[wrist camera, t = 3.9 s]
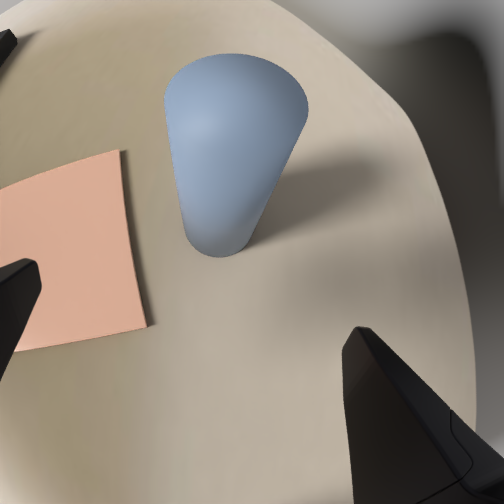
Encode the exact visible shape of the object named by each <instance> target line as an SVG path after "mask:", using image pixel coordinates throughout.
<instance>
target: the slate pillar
mask: <svg viewBox="0 0 504 504" xmlns="http://www.w3.org/2000/svg"><path fill="white" fill-rule="evenodd" d="M164 105H165V113H166V121H167V128H168V135H169V142H170V149H171V155H172V161H173V168H174V174H175V180H176V186H177V191H178V197H179V203H180V208H181V214H182V219H183V224H184V229H185V233H186V236H187V238H188V240H189V242H190V243H191V245H192V246H193V247H194V248H195V249H196V250H198V251H199V252H201V253H203V254H205V255H208V256H211V257H227V256H230V255H233V254H235V253H237V252H239V251H240V250H241V249H243V248H244V247H245V246H246V244H247V243H248V242H249V240H250V238H251V236H252V234H253V232H254V229H255V227H256V225H257V223H258V221H259V219H260V217H261V215H262V213H263V211H264V208H265V206H266V204H267V202H268V200H269V198H270V196H271V194H272V192H273V190H274V188H275V185H276V183H277V181H278V179H279V177H280V175H281V173H282V171H283V169H284V167H285V165H286V163H287V160H288V158H289V156H290V154H291V152H292V150H293V148H294V146H295V144H296V142H297V140H298V138H299V136H300V134H301V131H302V129H303V127H304V125H305V123H306V120H307V117H308V101H307V97H306V95H305V93H304V90H303V89H302V87H301V86H300V84H299V83H298V82H297V80H296V79H295V78H294V77H293V76H292V75H291V74H289V73H288V72H287V71H286V70H284V69H283V68H281V67H279V66H278V65H276V64H274V63H272V62H270V61H267V60H265V59H262V58H258V57H255V56H250V55H244V54H218V55H212V56H208V57H204V58H201V59H198V60H196V61H194V62H192V63H190V64H188V65H187V66H185V67H184V68H182V69H181V70H180V71H179V72H178V73H177V74H176V75H175V76H174V77H173V78H172V80H171V81H170V83H169V84H168V86H167V89H166V92H165V98H164Z"/></svg>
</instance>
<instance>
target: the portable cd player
mask: <svg viewBox="0 0 504 504" xmlns="http://www.w3.org/2000/svg"><path fill="white" fill-rule="evenodd" d="M16 45H17V38H16V37H15V35H14V34H13V33H12V32H11V30H10V29H7V30H5V31H2V32H0V67H1V65H2V64H3V63H4V61H5V60H6V58H7V57H8V56H9V54H10V53H11V52H12V50H13V49H14V48H15V46H16Z"/></svg>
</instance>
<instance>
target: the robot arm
mask: <svg viewBox="0 0 504 504" xmlns="http://www.w3.org/2000/svg"><path fill="white" fill-rule="evenodd" d="M41 290H42V282H41V277H40V272H39V267H38V264H37V262H36V261H35V260H32V259H29V258H23V259H20V260H18V261H15V262H13V263H10V264H8V265H5V266H3V267H0V381H1V379H2V376H3V374H4V372H5V369H6V367H7V365H8V363H9V361H10V359H11V357H12V354H13V352H14V350H15V348H16V346H17V344H18V342H19V340H20V338H21V336H22V334H23V332H24V330H25V327H26V325H27V322H28V320H29V318H30V315H31V313H32V311H33V308H34V306H35V304H36V302H37V299H38V297H39V295H40V293H41ZM342 373H343V401H344V410H345V418H346V426H347V434H348V443H349V453H350V463H351V474H352V485H353V499H354V504H504V458H503V457H502V456H501V455H499V454H498V453H497V452H496V451H495V450H494V449H493V448H492V447H490V446H489V445H488V444H487V443H486V442H485V441H484V440H483V439H481V438H480V437H479V436H478V435H477V434H476V433H475V432H474V431H473V430H472V429H471V428H470V427H469V426H468V425H467V424H466V423H465V422H464V421H463V420H462V419H461V418H460V417H459V416H458V415H457V414H456V413H455V412H454V411H453V410H452V409H450V407H449V406H448V405H447V404H446V403H445V402H444V401H443V400H442V399H441V398H440V397H439V396H438V395H437V394H436V393H435V392H434V391H433V390H432V389H431V388H430V387H429V386H428V385H427V384H426V383H425V382H424V381H423V380H422V379H421V378H420V377H419V376H418V375H417V374H416V373H415V372H414V371H413V370H412V369H411V368H410V367H409V366H408V365H407V364H406V363H405V362H404V361H403V360H402V359H401V358H400V357H399V356H398V355H397V354H396V353H395V352H394V351H393V350H392V349H391V348H390V347H389V346H388V345H387V344H386V343H385V342H384V341H383V340H382V339H381V338H380V337H379V336H378V335H377V334H376V333H374V332H373V331H372V330H371V329H370V328H368V327H360V326H357V327H355V328H354V329H353V331H352V332H351V334H350V336H349V338H348V339H347V341H346V343H345V344H344V346H343V349H342Z"/></svg>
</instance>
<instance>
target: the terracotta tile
mask: <svg viewBox="0 0 504 504" xmlns="http://www.w3.org/2000/svg"><path fill="white" fill-rule="evenodd" d="M23 258H29V259H32V260H35V261H36V262H37V264H38V267H39V272H40V277H41V282H42V290H41V293H40V295H39V297H38V299H37V302H36V304H35V306H34V308H33V311H32V313H31V315H30V318H29V320H28V322H27V325H26V327H25V330H24V332H23V334H22V336H21V338H20V340H19V342H18V344H17V346H16V348H15V350H14V352H18V351H25V350H31V349H37V348H44V347H49V346H55V345H61V344H67V343H72V342H78V341H83V340H88V339H93V338H98V337H104V336H109V335H113V334H118V333H123V332H128V331H133V330H137V329H142V328H147V327H148V326H147V322H146V318H145V314H144V309H143V305H142V300H141V295H140V291H139V286H138V281H137V276H136V270H135V265H134V259H133V253H132V247H131V241H130V235H129V228H128V221H127V214H126V206H125V198H124V189H123V179H122V168H121V156H120V151H119V149H117V150H113V151H109V152H106V153H102V154H99V155H95V156H92V157H88V158H85V159H82V160H79V161H75V162H72V163H69V164H66V165H63V166H60V167H57V168H54V169H51V170H49V171H46V172H43V173H40V174H38V175H35V176H32V177H30V178H27V179H24V180H22V181H19V182H17V183H14V184H12V185H10V186H7V187H5V188H2V189H0V267H3V266H5V265H8V264H10V263H13V262H15V261H18V260H20V259H23Z"/></svg>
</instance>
